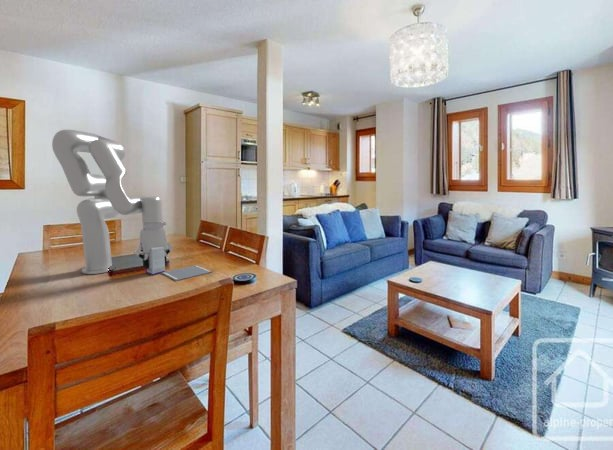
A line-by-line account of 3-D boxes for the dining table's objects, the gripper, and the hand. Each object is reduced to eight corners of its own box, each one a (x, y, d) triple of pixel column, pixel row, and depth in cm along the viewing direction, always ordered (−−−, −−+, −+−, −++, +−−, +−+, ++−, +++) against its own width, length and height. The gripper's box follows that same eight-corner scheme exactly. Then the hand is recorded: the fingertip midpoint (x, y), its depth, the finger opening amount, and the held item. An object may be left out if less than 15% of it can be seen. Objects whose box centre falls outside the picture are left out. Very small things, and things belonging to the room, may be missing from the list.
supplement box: (165, 271, 132) (164, 246, 130) (152, 275, 127) (151, 248, 125) (158, 269, 135) (156, 244, 133) (145, 272, 130) (143, 246, 128)
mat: (161, 273, 130) (161, 272, 130) (196, 265, 142) (196, 264, 141) (176, 281, 121) (175, 280, 120) (212, 272, 132) (212, 271, 132)
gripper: (169, 222, 137) (171, 261, 140) (127, 226, 124) (130, 269, 127) (177, 224, 132) (178, 264, 135) (133, 229, 119) (136, 273, 122)
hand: (155, 266), depth 131 cm, fingers closed on supplement box, 6 cm apart
